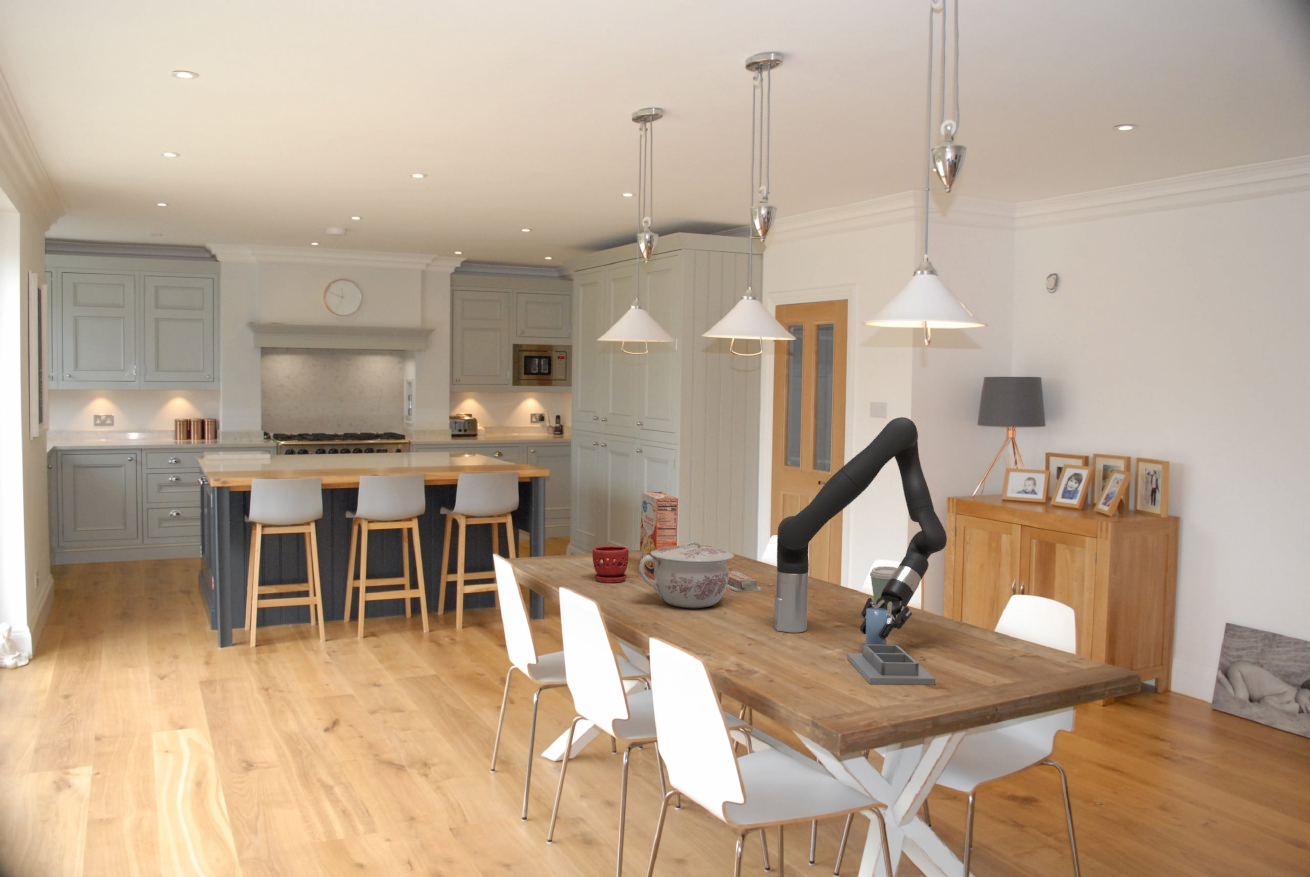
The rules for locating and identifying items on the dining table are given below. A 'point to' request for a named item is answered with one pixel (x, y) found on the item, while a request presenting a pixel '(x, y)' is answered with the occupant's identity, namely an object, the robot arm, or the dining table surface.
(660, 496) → the orange cereal box
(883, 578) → the disposable coffee cup
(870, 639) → the pale blue cylinder
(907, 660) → the tray
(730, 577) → the packaged product
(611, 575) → the plant pot
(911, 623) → the dining table surface
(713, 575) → the chamber pot
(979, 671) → the dining table surface
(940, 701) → the dining table surface
